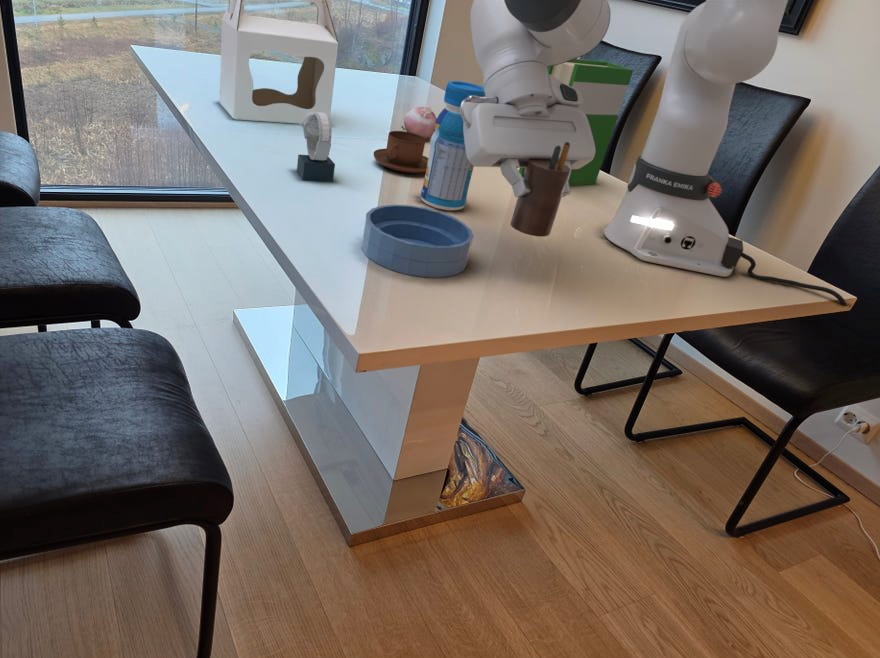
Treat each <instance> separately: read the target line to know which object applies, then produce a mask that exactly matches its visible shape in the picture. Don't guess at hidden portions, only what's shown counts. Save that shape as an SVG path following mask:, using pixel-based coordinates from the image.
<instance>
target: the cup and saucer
mask: <svg viewBox="0 0 880 658" xmlns="http://www.w3.org/2000/svg"><path fill="white" fill-rule="evenodd" d="M387 135H388V136H387V144H386V148H379V149H376V150H374V151H373V158H374V159H375V160H376V162H377V163H379V164H380V165H381V166H383V167H385V168H388V169H391V170H393V171H397V172H400V173H409V174H419V173H424V172H425V173H426V169H427V164H428V158H429V157H427V156H424V150H425V145H426V141H427V139H425V138H424V137H422V136H420V135H417V134H414V133H410V132H407V131H405V130H403V131H401V130H391V131H389V132H388V134H387Z"/></svg>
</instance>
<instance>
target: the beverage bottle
mask: <svg viewBox="0 0 880 658" xmlns="http://www.w3.org/2000/svg"><path fill="white" fill-rule="evenodd" d="M470 95H476V96H478V97H485V92H484V88H483V86H481V85H478V84H475V83H472V82H466V81H460V80H450V81H448V82H447V83H446V87H445V92H444V97H443V103H444V104H445V105H446V106H445V107H444V108H443V109H441V111H440V112H439V114H438V116H436V121H435V124H434V125H435V132H434V133H433V135H432V136H431V137H430V139H429V141H430V142H429V144H430V147H429V154H428V157H427V158H428V164H427V169H426V171H425V175H424V179H423V184H422V188H421V192H420V200H421V201H422V202H423V203H424V204H426V205H427V206H429V207H432V208H435V209H439V210H442V211H443V210H444V211H460V210H462V209H464V208H465V207H466V203H467V199H468V192H469V189H470V184H471V179H472V176H473V172H474V167H475V166H473V165H472V164H471V163H470V161H469V160H468V159H467V155H466V149H465V142H464V131H463V123H464V122H463V119H462V115H461V111H460V105H461V103H462V101H463V100H464V99H466V98H467V97H468V96H470Z"/></svg>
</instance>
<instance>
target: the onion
mask: <svg viewBox="0 0 880 658" xmlns="http://www.w3.org/2000/svg"><path fill="white" fill-rule="evenodd" d="M436 119H437V116H436V114H435V113H434V111H433V110H432V108H431V107H425V106H418V107H414V108H412V109H410V110H409V111H408V112H407V113H406V114H405V115H404V119H403V125H404V126H403V125H401V126H400V128H401V129H403V131H405V132H410V133H414V134H417V135H420V136H422V137H424V138H425V139H426V140H427V139H429V138H430V139H431V137H432V135H433V133H434V132H435V125H434V124H435V121H436Z"/></svg>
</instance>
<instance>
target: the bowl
mask: <svg viewBox="0 0 880 658" xmlns="http://www.w3.org/2000/svg"><path fill="white" fill-rule="evenodd" d="M363 225H364V226H363V233H362V237H361V250H362V252H363V253H364V255H365V256H366V257H367V258H369V259H370V260H371V261H373V262H374V263H375V264H376V265H379V266H381V267H383V268H386V269H388V270H390V271H393V272H396V273H400V274H402V275H403V274H404V275H408V276H414V277H419V278H431V279H432V278H435V279H436V278H441V279H442V278H446V277H452V276H456V275H458V274H460V273H462V272H464V270H465V268H466V267H467V264H468V261H469V257H470V253H471V249H472V244H473V241H474V234H473V230H472V229H471V228H470V227H469V226H468V225H467V224H466V223H465V222H464V221H461V220H459V219H458V218H456V217H454V216H452V215H449V214H447V213H444V212H442V211H438V210H436V209H435V210H434V209H431V208H428V207H422V206H417V205H410V204H385V205H379V206H376V207H373V208H371V209H370V210H368V212H366V213H365V219H364V224H363Z"/></svg>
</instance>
